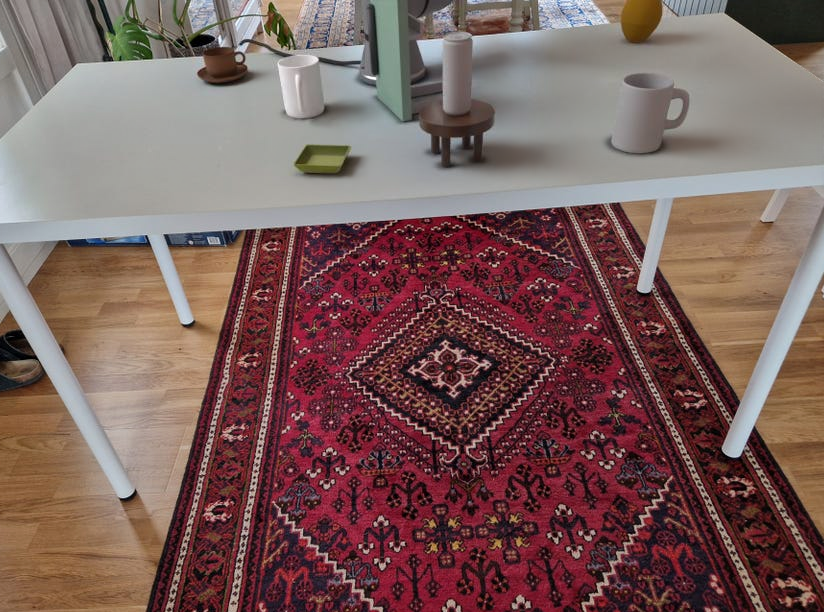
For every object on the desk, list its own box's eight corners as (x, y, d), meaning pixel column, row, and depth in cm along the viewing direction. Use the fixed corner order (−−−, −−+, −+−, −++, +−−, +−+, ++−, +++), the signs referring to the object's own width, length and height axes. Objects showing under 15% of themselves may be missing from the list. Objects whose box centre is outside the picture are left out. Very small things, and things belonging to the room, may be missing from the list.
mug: (616, 154, 112) (627, 90, 105) (606, 135, 119) (617, 73, 111) (686, 152, 111) (703, 87, 104) (673, 133, 118) (687, 70, 111)
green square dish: (353, 156, 117) (352, 145, 116) (342, 177, 111) (340, 165, 110) (307, 155, 119) (305, 144, 117) (294, 175, 112) (292, 164, 111)
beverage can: (471, 106, 111) (472, 31, 103) (470, 116, 108) (472, 39, 100) (443, 106, 112) (443, 31, 104) (442, 116, 108) (441, 40, 100)
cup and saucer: (229, 67, 161) (223, 41, 157) (259, 75, 155) (254, 48, 151) (189, 81, 155) (182, 54, 151) (219, 90, 149) (212, 62, 144)
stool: (407, 164, 114) (405, 119, 108) (440, 137, 122) (440, 94, 117) (474, 177, 108) (475, 130, 103) (503, 148, 117) (506, 103, 111)
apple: (646, 49, 155) (656, -6, 148) (609, 43, 160) (617, -10, 153) (663, 39, 161) (674, -14, 153) (627, 33, 166) (635, -18, 158)
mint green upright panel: (436, 86, 143) (434, -27, 129) (466, 109, 132) (468, -12, 117) (370, 98, 140) (361, -17, 125) (395, 123, 128) (389, 0, 114)
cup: (325, 103, 139) (318, 53, 132) (324, 124, 130) (317, 71, 123) (287, 106, 138) (278, 56, 132) (283, 127, 129) (274, 75, 123)
